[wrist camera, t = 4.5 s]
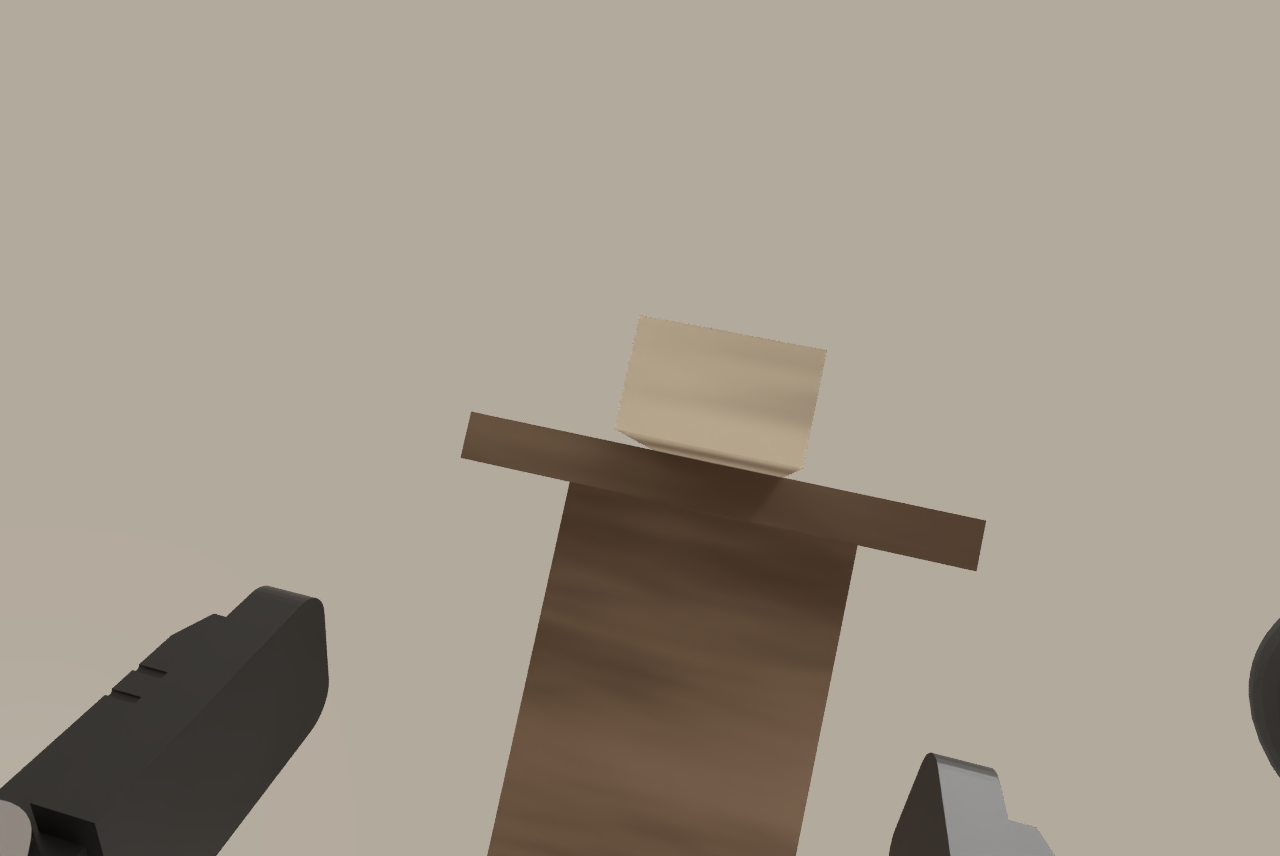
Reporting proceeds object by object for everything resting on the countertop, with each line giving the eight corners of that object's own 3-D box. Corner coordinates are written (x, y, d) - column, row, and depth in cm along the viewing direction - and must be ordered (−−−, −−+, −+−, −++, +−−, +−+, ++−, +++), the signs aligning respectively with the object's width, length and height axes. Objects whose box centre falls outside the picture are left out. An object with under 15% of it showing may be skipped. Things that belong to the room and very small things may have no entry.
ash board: (681, 465, 37) (692, 412, 37) (768, 483, 36) (779, 429, 37) (614, 428, 17) (639, 314, 17) (802, 468, 17) (826, 350, 17)
